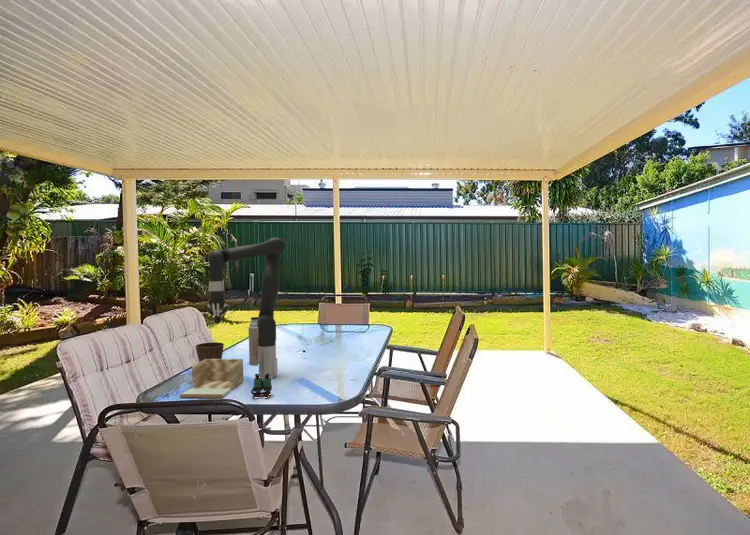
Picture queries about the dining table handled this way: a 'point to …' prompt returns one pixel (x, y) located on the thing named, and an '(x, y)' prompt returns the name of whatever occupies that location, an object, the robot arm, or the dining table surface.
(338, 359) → the dining table surface
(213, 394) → the panel
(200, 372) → the crate
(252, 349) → the thermos bottle
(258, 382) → the binoculars
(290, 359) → the dining table surface
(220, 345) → the plant pot
